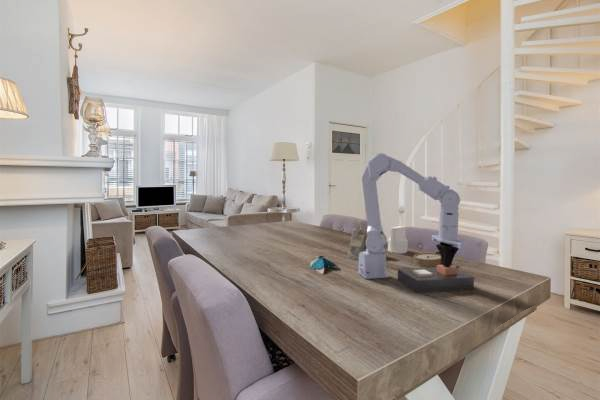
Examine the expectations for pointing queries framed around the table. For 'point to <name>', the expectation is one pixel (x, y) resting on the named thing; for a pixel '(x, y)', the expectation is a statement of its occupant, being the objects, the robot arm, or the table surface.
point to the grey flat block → (435, 281)
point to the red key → (446, 270)
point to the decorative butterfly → (322, 264)
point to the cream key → (422, 273)
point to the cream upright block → (398, 240)
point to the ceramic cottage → (358, 243)
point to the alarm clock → (428, 259)
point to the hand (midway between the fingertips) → (446, 265)
